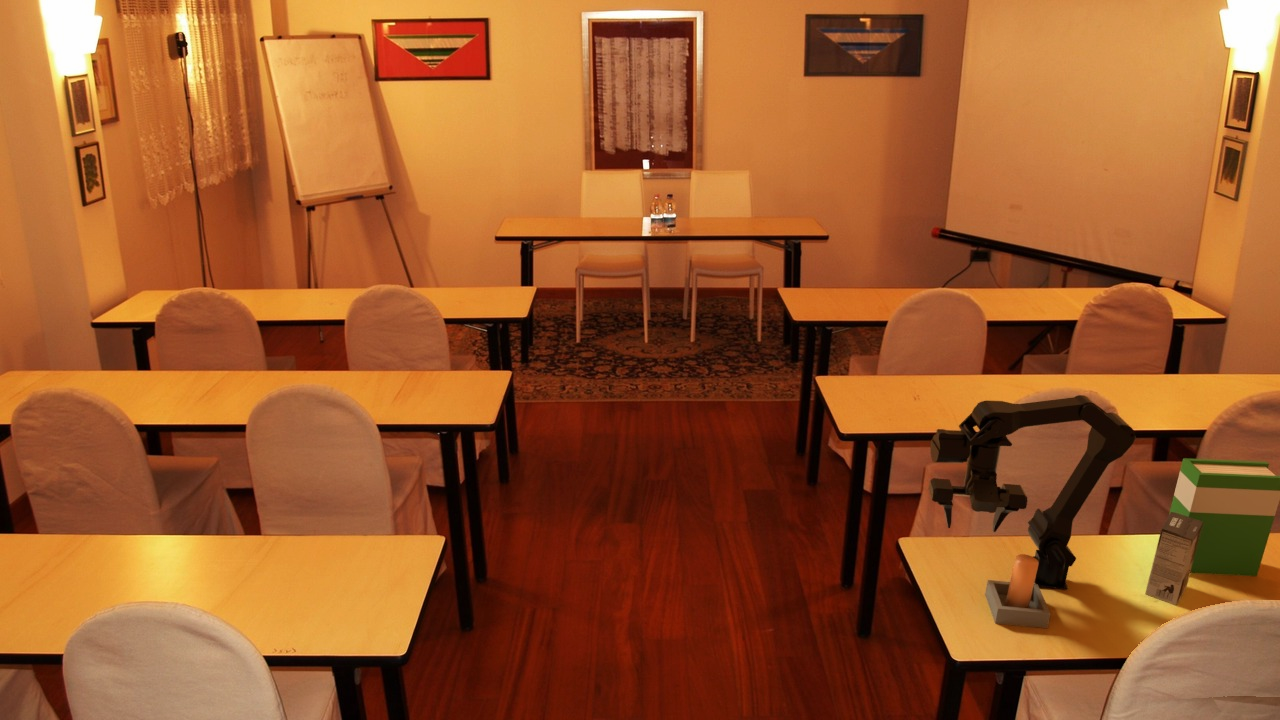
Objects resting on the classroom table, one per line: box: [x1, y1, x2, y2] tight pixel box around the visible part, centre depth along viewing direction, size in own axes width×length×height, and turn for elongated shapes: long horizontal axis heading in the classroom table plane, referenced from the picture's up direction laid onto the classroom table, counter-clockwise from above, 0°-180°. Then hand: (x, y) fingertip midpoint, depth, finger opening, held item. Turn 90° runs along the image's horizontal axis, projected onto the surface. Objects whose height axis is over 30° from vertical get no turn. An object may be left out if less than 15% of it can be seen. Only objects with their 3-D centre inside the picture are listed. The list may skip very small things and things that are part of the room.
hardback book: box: [1168, 457, 1280, 577], centre depth 213 cm, size 18×7×24 cm, turn 87°
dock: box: [984, 579, 1051, 629], centre depth 199 cm, size 10×10×4 cm
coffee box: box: [1145, 512, 1203, 606], centre depth 205 cm, size 9×6×16 cm
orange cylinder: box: [1005, 553, 1039, 608], centre depth 197 cm, size 4×4×11 cm
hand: (971, 529), depth 206 cm, fingers open, 9 cm apart
